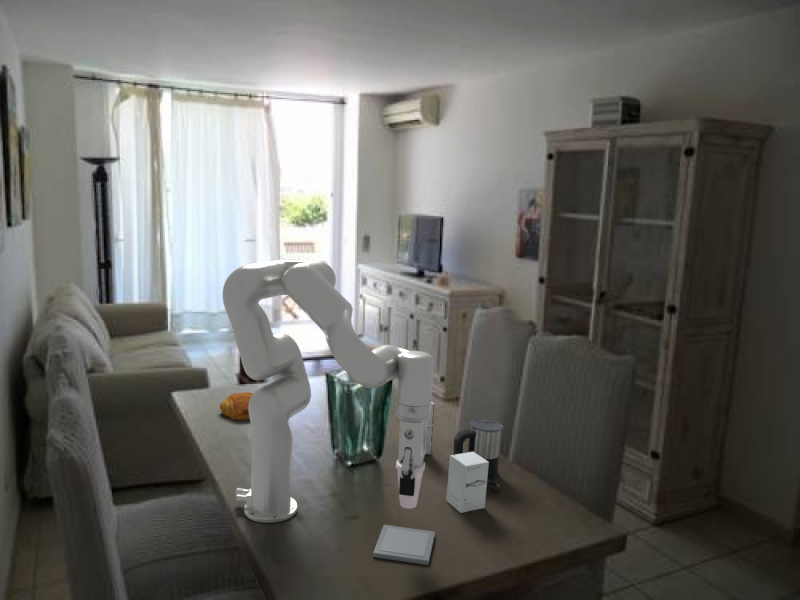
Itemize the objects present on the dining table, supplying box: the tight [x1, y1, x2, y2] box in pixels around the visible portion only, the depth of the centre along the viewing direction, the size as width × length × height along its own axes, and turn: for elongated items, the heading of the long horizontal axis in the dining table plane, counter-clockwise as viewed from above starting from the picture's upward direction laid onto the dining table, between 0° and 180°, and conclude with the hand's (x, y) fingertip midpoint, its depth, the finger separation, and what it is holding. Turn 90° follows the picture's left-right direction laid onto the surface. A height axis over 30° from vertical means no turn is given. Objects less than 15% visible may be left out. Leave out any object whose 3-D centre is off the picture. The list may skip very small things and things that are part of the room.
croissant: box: [219, 392, 255, 421], centre depth 216 cm, size 14×16×8 cm
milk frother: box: [453, 418, 504, 492], centre depth 175 cm, size 14×16×15 cm
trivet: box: [372, 524, 436, 566], centre depth 141 cm, size 12×12×1 cm
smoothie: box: [395, 459, 426, 509], centre depth 138 cm, size 6×6×14 cm
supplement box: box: [445, 451, 489, 514], centre depth 161 cm, size 7×7×13 cm
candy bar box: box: [425, 400, 435, 456], centre depth 194 cm, size 11×5×16 cm, turn 22°
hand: (409, 486), depth 139 cm, fingers closed on smoothie, 6 cm apart
